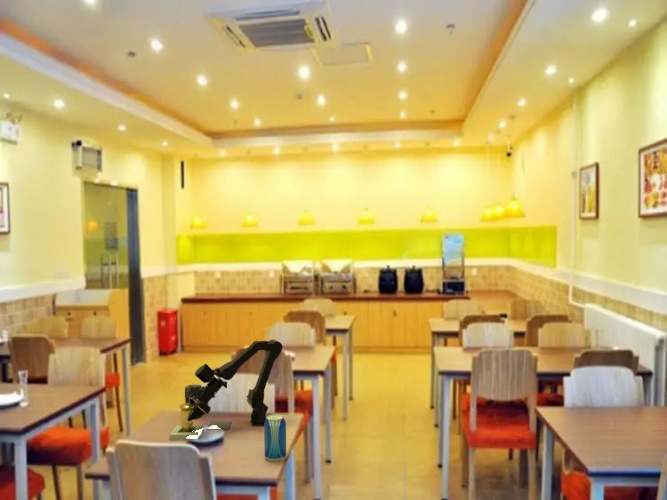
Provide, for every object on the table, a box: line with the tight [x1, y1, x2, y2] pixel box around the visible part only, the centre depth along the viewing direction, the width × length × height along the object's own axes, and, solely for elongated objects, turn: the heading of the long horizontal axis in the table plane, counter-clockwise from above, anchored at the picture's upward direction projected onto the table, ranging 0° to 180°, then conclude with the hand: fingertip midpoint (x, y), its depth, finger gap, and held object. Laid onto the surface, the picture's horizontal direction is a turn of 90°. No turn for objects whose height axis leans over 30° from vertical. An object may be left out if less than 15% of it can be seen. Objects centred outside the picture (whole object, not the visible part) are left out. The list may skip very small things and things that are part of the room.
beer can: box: [263, 414, 287, 463], centre depth 212 cm, size 8×8×16 cm
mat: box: [206, 420, 233, 431], centre depth 250 cm, size 10×10×1 cm
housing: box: [168, 424, 205, 441], centre depth 239 cm, size 12×12×2 cm
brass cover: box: [179, 403, 194, 432], centre depth 239 cm, size 6×6×13 cm
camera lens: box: [184, 384, 203, 420], centre depth 264 cm, size 8×8×15 cm
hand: (186, 417), depth 239 cm, fingers open, 9 cm apart
